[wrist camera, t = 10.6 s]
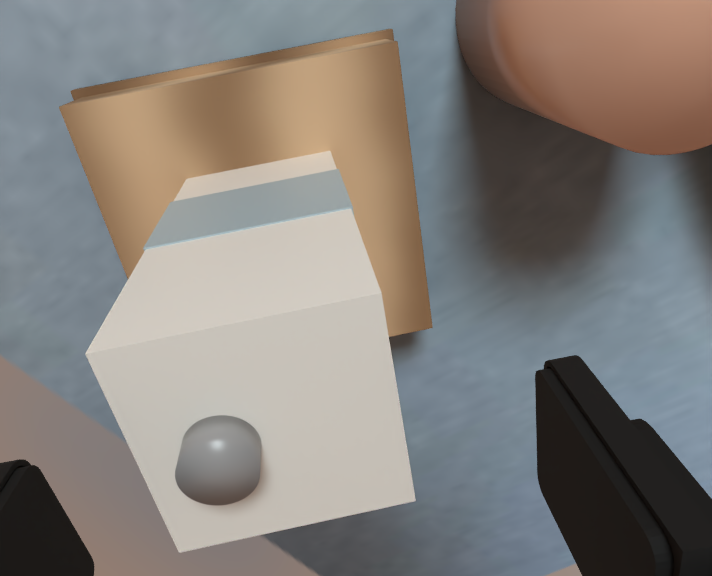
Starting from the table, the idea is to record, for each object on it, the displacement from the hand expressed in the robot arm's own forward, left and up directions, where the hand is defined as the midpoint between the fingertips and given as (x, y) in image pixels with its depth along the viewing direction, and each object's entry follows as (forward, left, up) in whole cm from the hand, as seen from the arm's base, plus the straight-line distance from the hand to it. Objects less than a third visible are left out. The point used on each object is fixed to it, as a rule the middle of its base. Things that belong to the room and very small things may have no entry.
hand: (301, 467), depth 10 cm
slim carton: (+1, 0, -13) cm, 13 cm away
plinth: (+1, 0, -16) cm, 16 cm away
